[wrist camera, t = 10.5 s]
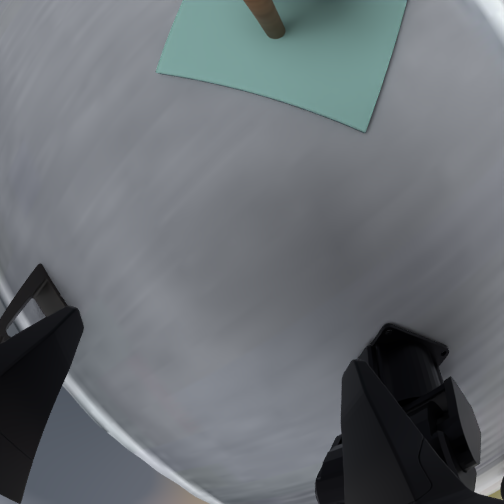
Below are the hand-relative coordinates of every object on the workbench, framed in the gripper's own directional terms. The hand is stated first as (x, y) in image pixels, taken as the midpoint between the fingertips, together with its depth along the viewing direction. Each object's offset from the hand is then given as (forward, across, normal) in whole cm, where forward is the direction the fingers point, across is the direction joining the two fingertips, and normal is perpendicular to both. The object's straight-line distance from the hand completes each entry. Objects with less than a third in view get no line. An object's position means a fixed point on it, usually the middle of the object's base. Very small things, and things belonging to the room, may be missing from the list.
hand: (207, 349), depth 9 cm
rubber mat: (+14, 0, -14) cm, 19 cm away
